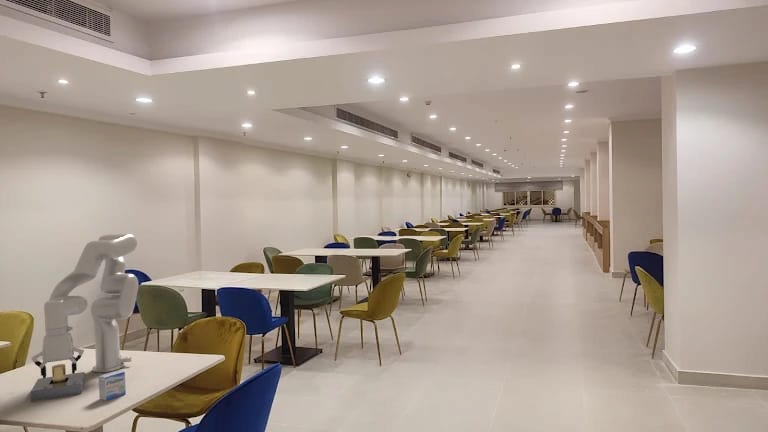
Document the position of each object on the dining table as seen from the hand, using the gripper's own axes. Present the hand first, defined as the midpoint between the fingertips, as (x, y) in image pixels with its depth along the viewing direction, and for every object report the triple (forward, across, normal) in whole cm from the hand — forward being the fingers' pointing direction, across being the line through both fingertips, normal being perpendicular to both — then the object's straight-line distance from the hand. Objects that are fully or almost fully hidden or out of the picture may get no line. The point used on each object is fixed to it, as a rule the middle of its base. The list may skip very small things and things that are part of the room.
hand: (59, 374), depth 200 cm
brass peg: (+6, 0, 0) cm, 6 cm away
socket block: (+6, 0, 0) cm, 6 cm away
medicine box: (+6, -19, +18) cm, 27 cm away
